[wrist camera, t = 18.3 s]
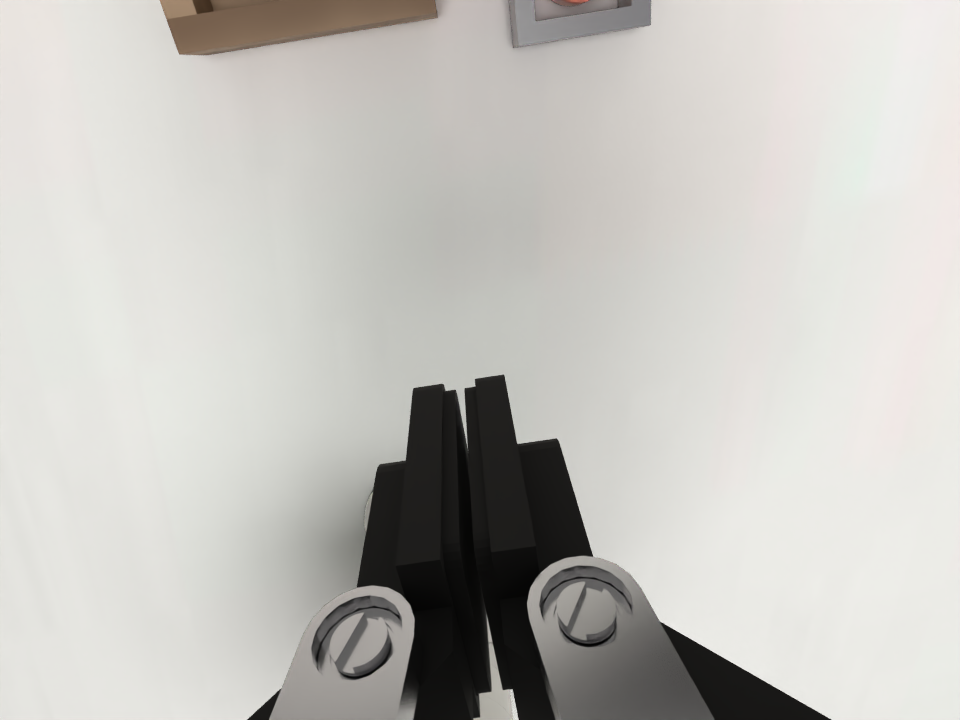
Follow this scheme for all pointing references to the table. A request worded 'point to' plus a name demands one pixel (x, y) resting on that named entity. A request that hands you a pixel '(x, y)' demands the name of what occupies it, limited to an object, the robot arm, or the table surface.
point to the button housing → (575, 22)
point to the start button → (569, 2)
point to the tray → (279, 20)
